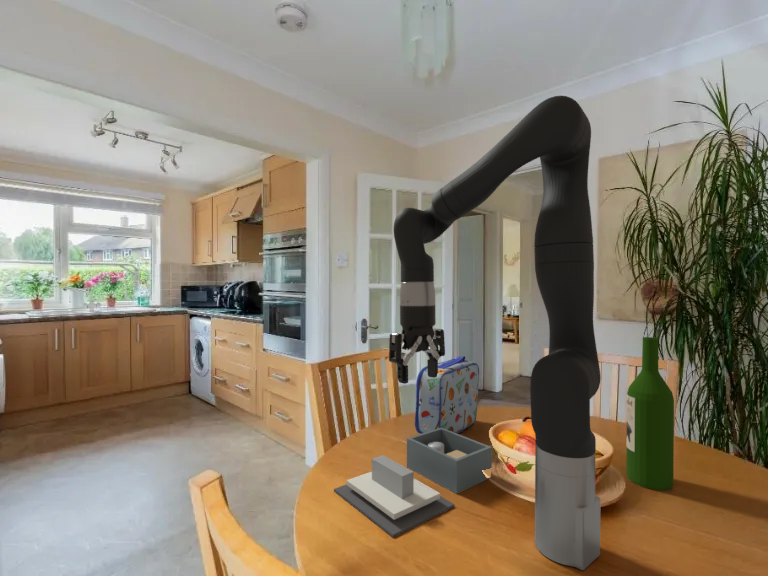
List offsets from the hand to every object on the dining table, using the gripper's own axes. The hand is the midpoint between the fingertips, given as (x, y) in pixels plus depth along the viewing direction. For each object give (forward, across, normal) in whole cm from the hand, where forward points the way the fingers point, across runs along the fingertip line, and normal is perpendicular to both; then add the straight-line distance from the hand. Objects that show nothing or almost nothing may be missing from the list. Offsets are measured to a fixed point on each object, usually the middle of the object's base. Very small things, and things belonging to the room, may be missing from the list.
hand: (418, 379), depth 85 cm
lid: (+24, -6, +2) cm, 25 cm away
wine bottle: (+25, +45, -29) cm, 59 cm away
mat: (+24, -6, +2) cm, 25 cm away
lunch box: (+24, +34, +22) cm, 47 cm away
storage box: (+24, +12, +3) cm, 27 cm away
